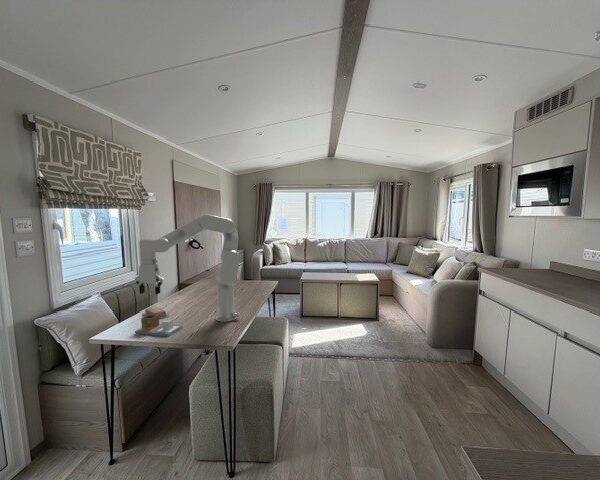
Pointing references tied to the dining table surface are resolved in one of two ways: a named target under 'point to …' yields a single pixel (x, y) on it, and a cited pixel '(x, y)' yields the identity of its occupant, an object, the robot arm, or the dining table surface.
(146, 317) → the sleeve
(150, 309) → the packaged product
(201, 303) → the dining table surface
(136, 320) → the dining table surface
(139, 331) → the pin board
